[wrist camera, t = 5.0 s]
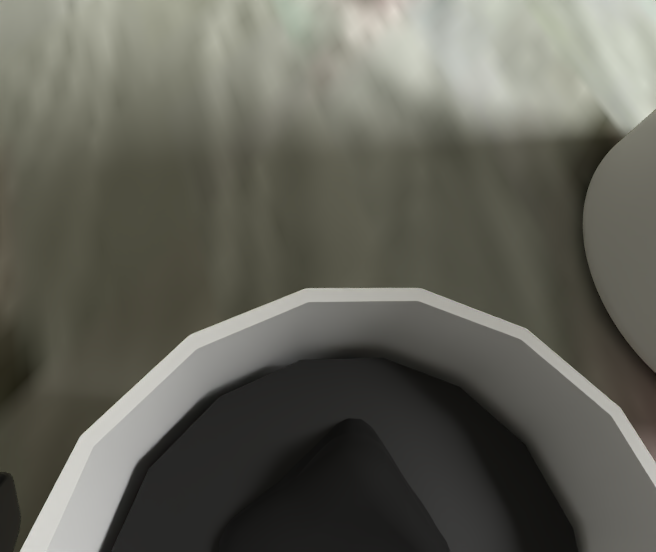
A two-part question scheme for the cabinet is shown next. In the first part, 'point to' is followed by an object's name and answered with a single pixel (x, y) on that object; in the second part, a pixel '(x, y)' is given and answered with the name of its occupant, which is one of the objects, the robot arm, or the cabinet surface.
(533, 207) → the cabinet surface
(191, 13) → the cabinet surface
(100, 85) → the cabinet surface
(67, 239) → the cabinet surface
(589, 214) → the cylinder vase
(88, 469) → the white cup
